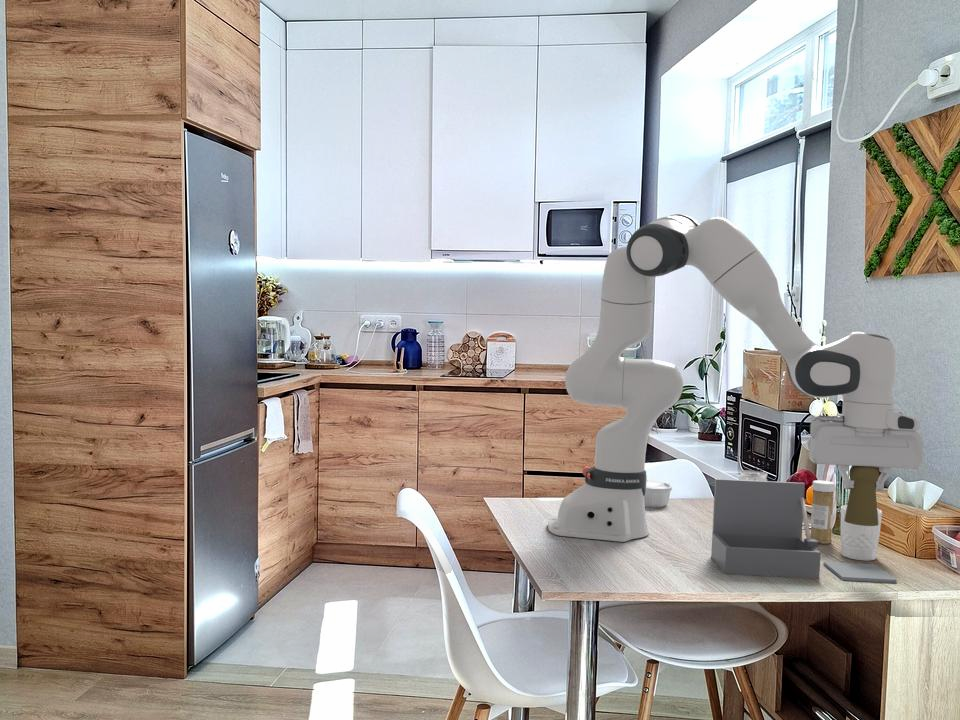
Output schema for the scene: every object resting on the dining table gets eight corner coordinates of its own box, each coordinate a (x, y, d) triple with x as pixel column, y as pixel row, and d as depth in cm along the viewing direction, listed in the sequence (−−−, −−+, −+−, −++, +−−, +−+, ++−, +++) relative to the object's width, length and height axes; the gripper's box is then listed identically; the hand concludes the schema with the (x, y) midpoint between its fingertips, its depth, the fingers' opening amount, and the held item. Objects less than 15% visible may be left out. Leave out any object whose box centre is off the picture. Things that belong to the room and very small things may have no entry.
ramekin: (675, 509, 216) (676, 489, 216) (631, 508, 216) (632, 487, 215) (665, 500, 227) (666, 480, 227) (623, 498, 227) (624, 479, 227)
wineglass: (743, 525, 200) (746, 475, 200) (731, 518, 207) (733, 470, 207) (770, 525, 201) (773, 475, 201) (757, 518, 208) (759, 470, 208)
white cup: (863, 551, 181) (866, 504, 181) (887, 561, 173) (890, 513, 173) (830, 551, 180) (832, 504, 179) (852, 562, 172) (855, 513, 172)
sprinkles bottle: (835, 542, 187) (839, 482, 187) (823, 545, 185) (826, 484, 184) (817, 538, 191) (820, 479, 190) (804, 540, 188) (808, 480, 188)
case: (724, 573, 160) (729, 490, 160) (711, 556, 172) (715, 478, 171) (822, 578, 160) (827, 494, 159) (802, 561, 171) (806, 482, 170)
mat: (842, 580, 159) (842, 576, 159) (823, 564, 169) (823, 561, 169) (896, 582, 159) (896, 579, 159) (874, 567, 169) (874, 564, 169)
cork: (876, 527, 158) (879, 468, 157) (841, 522, 161) (844, 465, 161) (880, 522, 163) (883, 465, 162) (846, 517, 166) (849, 461, 166)
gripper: (816, 416, 159) (812, 489, 159) (929, 421, 157) (924, 495, 158) (806, 413, 165) (802, 483, 166) (914, 418, 164) (910, 489, 164)
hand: (863, 489), depth 162 cm, fingers closed on cork, 4 cm apart
